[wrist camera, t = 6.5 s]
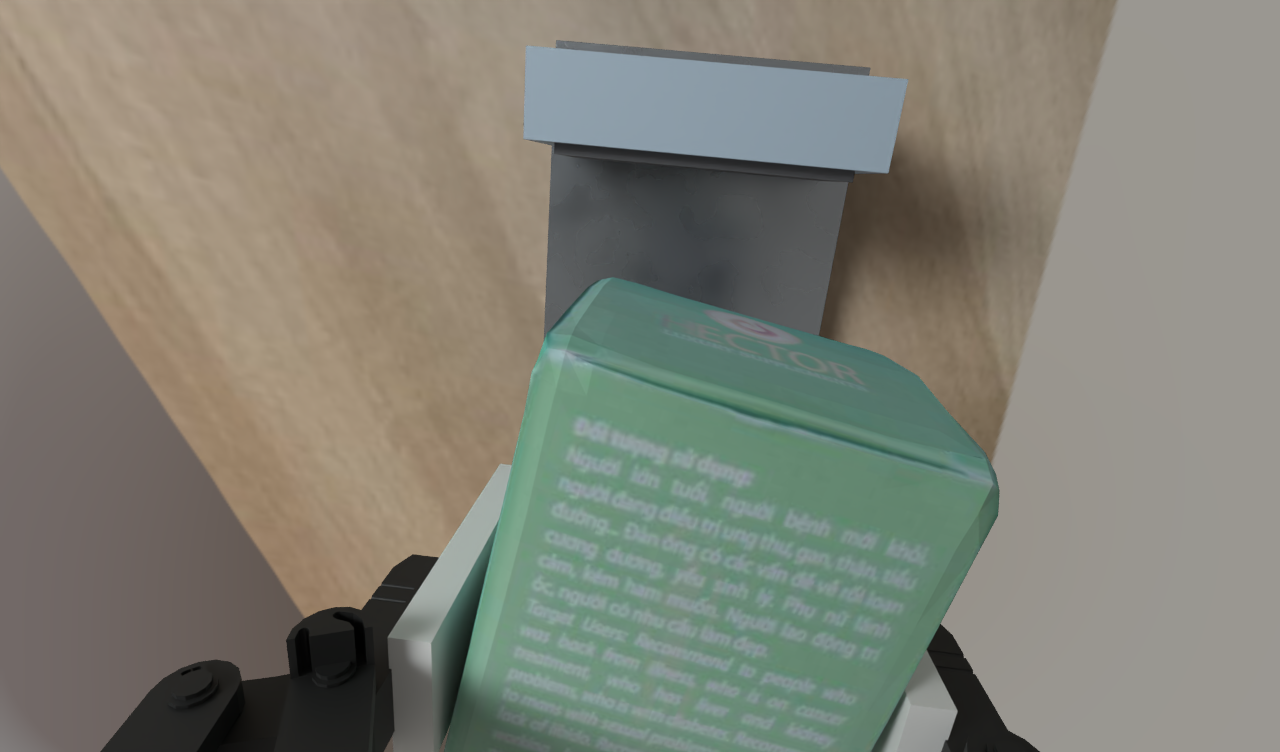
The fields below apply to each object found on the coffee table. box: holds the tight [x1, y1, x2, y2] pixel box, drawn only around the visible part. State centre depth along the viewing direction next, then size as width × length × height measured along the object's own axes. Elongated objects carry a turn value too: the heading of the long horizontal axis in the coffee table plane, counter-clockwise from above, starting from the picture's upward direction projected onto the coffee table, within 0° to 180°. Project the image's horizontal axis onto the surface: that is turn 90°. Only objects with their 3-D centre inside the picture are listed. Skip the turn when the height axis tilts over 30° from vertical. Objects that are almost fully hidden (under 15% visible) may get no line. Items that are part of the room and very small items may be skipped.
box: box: [444, 277, 999, 752], centre depth 14 cm, size 7×14×8 cm, turn 165°
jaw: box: [524, 46, 908, 182], centre depth 24 cm, size 3×13×7 cm, turn 85°
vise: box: [544, 40, 870, 340], centre depth 28 cm, size 26×14×8 cm, turn 175°
